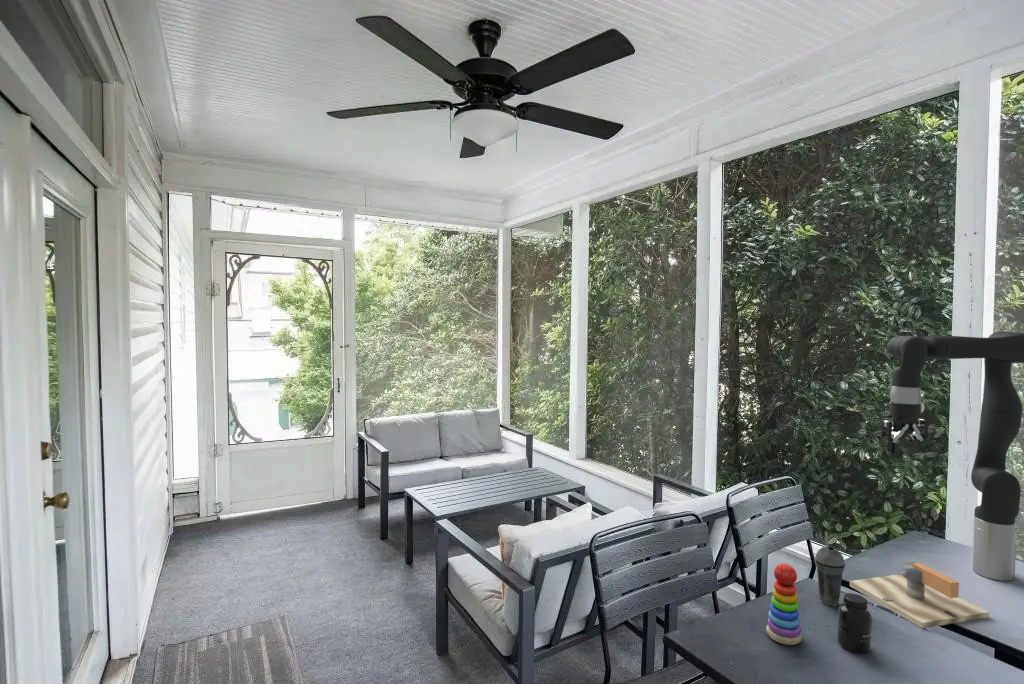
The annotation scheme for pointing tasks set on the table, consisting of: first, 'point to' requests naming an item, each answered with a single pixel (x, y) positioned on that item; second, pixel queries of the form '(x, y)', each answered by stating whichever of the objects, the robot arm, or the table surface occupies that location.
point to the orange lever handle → (930, 578)
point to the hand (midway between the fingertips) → (904, 453)
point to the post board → (918, 601)
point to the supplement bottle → (854, 624)
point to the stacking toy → (784, 607)
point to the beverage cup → (829, 573)
